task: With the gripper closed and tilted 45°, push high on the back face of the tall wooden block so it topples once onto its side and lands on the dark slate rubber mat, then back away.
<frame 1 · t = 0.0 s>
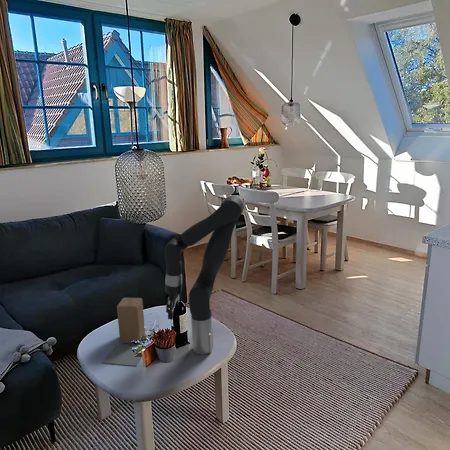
hand: (173, 314, 184), 17 cm above the table, tool pointing down, fingers open, 8 cm apart
slate mat: (125, 355, 183), on the table
wooden block: (132, 338, 196), on the table
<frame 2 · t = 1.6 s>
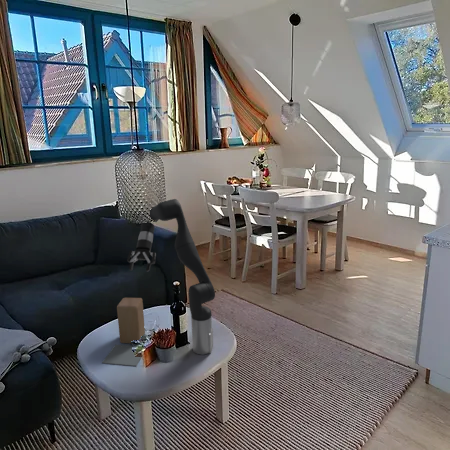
hand: (139, 270, 202), 30 cm above the table, tool tilted 45°, fingers open, 8 cm apart
nothing on the table moved.
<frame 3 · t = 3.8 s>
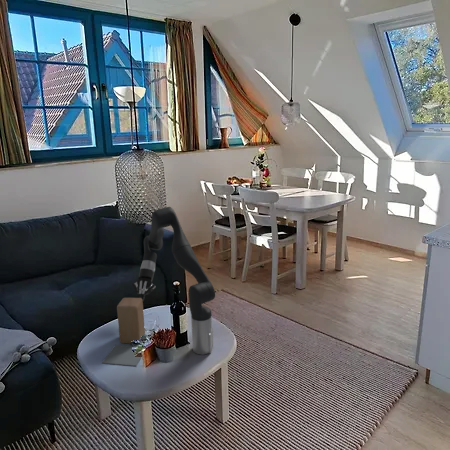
hand: (140, 301, 205), 13 cm above the table, tool tilted 45°, fingers closed
nothing on the table moved.
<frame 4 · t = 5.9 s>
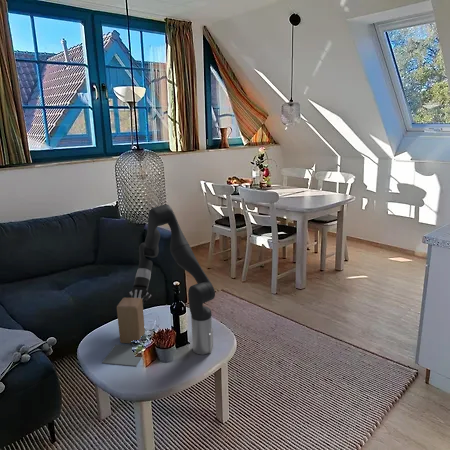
hand: (135, 311, 198), 12 cm above the table, tool tilted 45°, fingers closed
wooden block: (132, 338, 196), on the table, touching gripper
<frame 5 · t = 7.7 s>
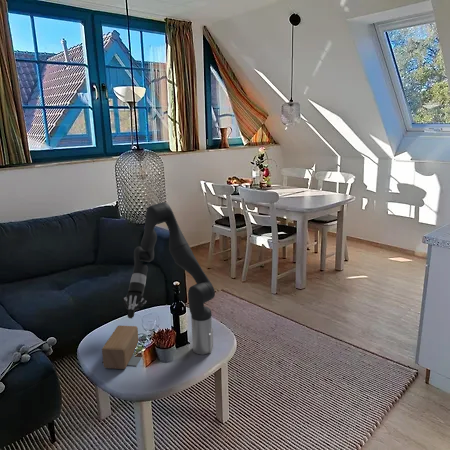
hand: (130, 317, 192), 12 cm above the table, tool tilted 45°, fingers closed
wooden block: (128, 334, 190), point 5 cm above the table, touching slate mat
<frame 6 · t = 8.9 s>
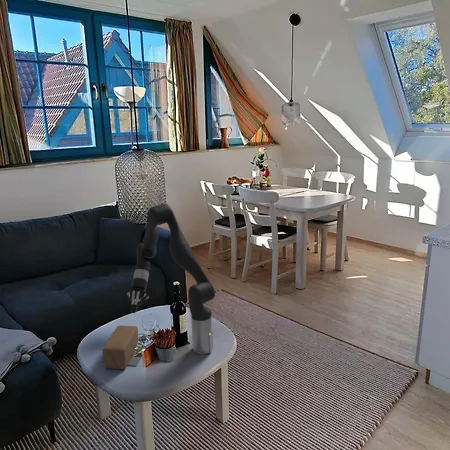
hand: (133, 312, 196), 12 cm above the table, tool tilted 45°, fingers closed
nothing on the table moved.
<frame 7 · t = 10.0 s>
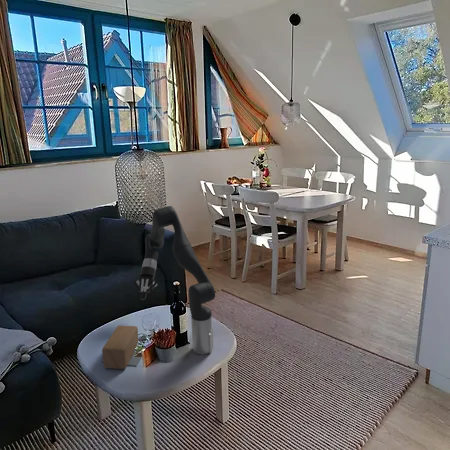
hand: (142, 299, 205), 14 cm above the table, tool tilted 45°, fingers closed
nothing on the table moved.
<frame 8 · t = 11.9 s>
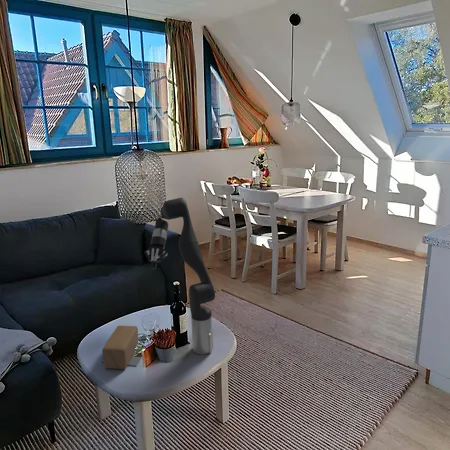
hand: (152, 268, 204), 30 cm above the table, tool tilted 45°, fingers closed
nothing on the table moved.
at the end: wooden block tilted 90°; wooden block touching slate mat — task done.
